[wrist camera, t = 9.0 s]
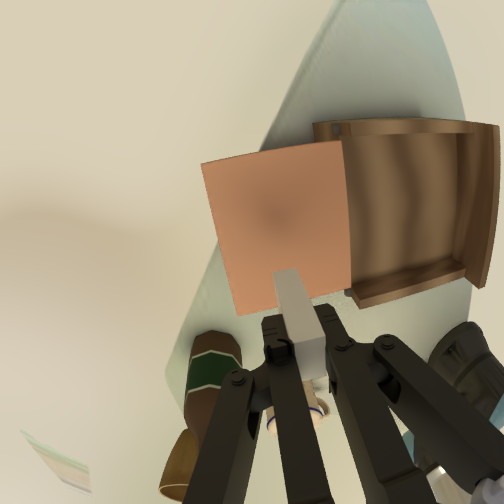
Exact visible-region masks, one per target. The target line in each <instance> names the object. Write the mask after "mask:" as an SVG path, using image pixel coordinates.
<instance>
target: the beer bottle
mask: <svg viewBox="0 0 504 504" xmlns="http://www.w3.org/2000/svg"><path fill="white" fill-rule="evenodd" d="M239 368H242V355H241V349H240V347H239V346H238V344H237V343H236V342H235V340H234V339H233V337H232V336H231V335H229V334H225V333H220V332H216V331H210V332H208V333H205V334H203V335H200V336H197V337H196V338H195V340H194V344H193V347H192V350H191V354H190V359H189V367H188V375H187V383H186V392H185V400H184V419H185V421H186V424H187V427H188V428H189V430H190V431H191V432H192V434H193V435H194V436H195V440H196V446H197V458H198V455H199V452H200V449H201V446H202V443H203V440H204V437H205V434H206V431H207V428H208V425H209V422H210V419H211V416H212V413H213V410H214V407H215V404H216V400H217V397H218V394H219V391H220V388H221V385H222V382H223V379H224V377H225V375H226V374H227V373H228V372H230V371H232V370H234V369H239Z"/></svg>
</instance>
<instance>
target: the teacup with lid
mask: <svg viewBox="0 0 504 504" xmlns="http://www.w3.org/2000/svg"><path fill="white" fill-rule="evenodd" d="M302 383H303V386H304V390H305V394H306V398H307V402H308V405H309V409H310V413H311V417H312V421H313V425H314V429H315V430H316V429H317V428H318V427H319V426H320V425H321V423H322V420H325V419H326V418H328V416H329V415H330V409H329V407H328V405H327V404H326V403H325V402H324V401H323V400H322V399H320V398H318V397H316V396H315V393H314V389H313V386H312V382H311V380H307V381H303V382H302ZM318 405H320V406H321V408H322V409H323V411H324V413H325V415H323V414H322V412H321V411H320V409H319V406H318ZM266 414H267V421H268V423H267V429H268V431H269V432H270V434H272V435H273V436H275V437H278V435H277V428H276V422H275V415H274V409H273V406H271V407H269V408H267V409H266Z"/></svg>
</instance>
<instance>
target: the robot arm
mask: <svg viewBox="0 0 504 504" xmlns="http://www.w3.org/2000/svg"><path fill="white" fill-rule="evenodd" d="M272 274H273V280H274V286H275V292H276V297H277V303H278V309H279V313H280V314H277V315H272V316H267V317H264V318H263V321H262V323H261V326H262V333H263V339H264V354H265V361H264V363H263V364H262V365H261V366H260V367H258V368H256V369H254V370H252V371H249V370H247V369H242V368H239V369H234V370H232V371H230V372H228V373H227V374H226V375H225V377H224V379H223V382H222V385H221V388H220V391H219V394H218V397H217V400H216V404H215V407H214V410H213V413H212V416H211V419H210V422H209V425H208V428H207V431H206V434H205V437H204V440H203V443H202V446H201V449H200V452H199V455H198V458H197V461H196V464H195V467H194V470H193V473H192V476H191V479H190V482H189V485H188V488H187V491H186V494H185V497H184V500H183V503H182V504H244V500H245V496H246V491H247V487H248V482H249V477H250V473H251V468H252V463H253V459H254V454H255V449H256V444H257V439H258V434H259V429H260V423H261V418H262V413H263V410H265V409H267V408H269V407H271V406H273V409H274V415H275V422H276V428H277V435H278V441H279V448H280V454H281V460H282V467H283V473H284V479H285V486H286V492H287V499H288V504H335V502H334V500H333V498H332V495H331V492H330V488H329V484H328V480H327V476H326V472H325V468H324V464H323V460H322V456H321V452H320V448H319V444H318V440H317V436H316V432H315V429H314V425H313V421H312V417H311V413H310V409H309V405H308V402H307V398H306V394H305V390H304V386H303V383H302V382H303V381H307V380H312V379H316V378H320V377H324V376H327V373H328V376H329V393H331V391H332V394H333V397H334V400H335V403H336V406H337V409H338V412H339V415H340V418H341V421H342V424H343V427H344V430H345V433H346V436H347V439H348V443H349V446H350V449H351V452H352V455H353V458H354V462H355V465H356V468H357V471H358V474H359V478H360V481H361V484H362V488H363V491H364V494H365V497H366V504H504V435H503V434H502V433H501V432H500V431H499V430H500V429H501V428H502V427H503V426H504V367H503V366H502V364H501V363H500V362H499V361H498V360H497V359H496V357H495V356H494V355H493V354H492V353H491V351H490V350H489V347H488V344H487V342H486V339H485V337H484V336H483V332H482V330H481V328H480V327H479V326H478V325H477V324H476V323H474V322H465V323H463V324H461V325H459V326H457V327H456V328H454V329H453V330H452V331H451V332H449V333H448V334H447V335H446V336H445V337H444V338H443V339H442V340H441V341H440V343H439V344H438V345H437V346H436V348H435V349H434V351H433V352H432V354H431V356H430V358H429V361H428V364H427V363H426V362H425V361H424V360H423V359H422V358H420V357H419V356H418V355H417V354H416V353H415V352H414V351H413V350H411V349H410V348H409V347H408V346H407V345H406V344H405V343H403V342H402V341H401V340H400V339H399V338H398V337H396V336H394V335H390V334H384V335H381V336H379V337H377V338H376V339H375V341H374V343H358V342H356V341H355V340H354V339H353V338H351V337H349V336H348V334H347V332H346V330H345V328H344V326H343V324H342V322H341V320H340V319H339V317H338V315H337V313H336V311H335V309H334V307H332V306H331V305H329V304H328V303H326V304H321V305H317V306H313V305H312V303H311V301H310V298H309V296H308V294H307V291H306V289H305V287H304V284H303V282H302V280H301V278H300V275H299V273H298V271H297V269H296V268H292V269H287V270H282V271H277V272H272ZM326 370H327V372H326ZM388 406H389V407H390V408H391V410H392V411H393V412H394V413H395V414H396V415H397V416H398V418H399V419H400V420H401V421H402V422H403V423H404V424H405V426H406V427H407V428H408V429H409V430H408V431H407V432H406V433H404V434H403V436H401V434H400V431H399V429H398V427H397V425H396V422H395V420H394V418H393V416H392V414H391V412H390V410H389V407H388ZM431 487H432V489H433V491H432V489H431ZM433 492H434V494H433ZM434 495H435V496H434ZM435 497H436V499H437V501H436V499H435Z"/></svg>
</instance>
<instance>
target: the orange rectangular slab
mask: <svg viewBox="0 0 504 504" xmlns="http://www.w3.org/2000/svg"><path fill="white" fill-rule="evenodd" d="M201 168H202V173H203V177H204V182H205V186H206V191H207V195H208V199H209V203H210V208H211V212H212V216H213V220H214V224H215V229H216V233H217V237H218V241H219V245H220V249H221V253H222V257H223V261H224V265H225V269H226V273H227V277H228V281H229V285H230V289H231V292H232V296H233V300H234V304H235V308H236V311H237V315H238V316H241V315H246V314H250V313H255V312H259V311H263V310H267V309H271V308H276V307H278V303H277V297H276V292H275V286H274V280H273V274H272V272H277V271H282V270H287V269H292V268H296V269H297V271H298V273H299V275H300V278H301V280H302V282H303V284H304V287H305V289H306V291H307V294H308V296H309V298H310V299H311V298H315V297H318V296H322V295H326V294H329V293H333V292H337V291H340V290H344V289H347V288H351V255H350V231H349V215H348V201H347V189H346V178H345V168H344V159H343V151H342V143H341V141H340V140H333V141H325V142H317V143H310V144H303V145H296V146H289V147H283V148H277V149H271V150H265V151H260V152H255V153H250V154H245V155H239V156H234V157H230V158H225V159H220V160H216V161H211V162H207V163H203V164H201Z"/></svg>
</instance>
